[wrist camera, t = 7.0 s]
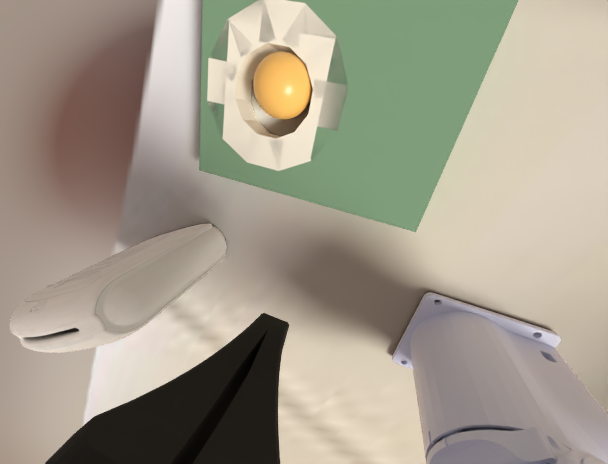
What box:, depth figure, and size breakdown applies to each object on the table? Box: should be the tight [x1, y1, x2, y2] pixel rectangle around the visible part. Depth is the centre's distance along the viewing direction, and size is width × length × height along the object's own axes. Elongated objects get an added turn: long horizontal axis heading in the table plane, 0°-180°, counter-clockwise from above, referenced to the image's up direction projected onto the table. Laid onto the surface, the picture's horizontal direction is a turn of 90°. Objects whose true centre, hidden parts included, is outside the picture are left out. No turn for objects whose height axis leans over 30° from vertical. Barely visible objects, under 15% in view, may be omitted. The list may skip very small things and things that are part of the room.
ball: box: [253, 51, 312, 119], centre depth 15 cm, size 4×4×4 cm
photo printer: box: [10, 224, 227, 353], centre depth 19 cm, size 10×4×12 cm, turn 110°
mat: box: [199, 0, 518, 232], centre depth 16 cm, size 16×12×2 cm
